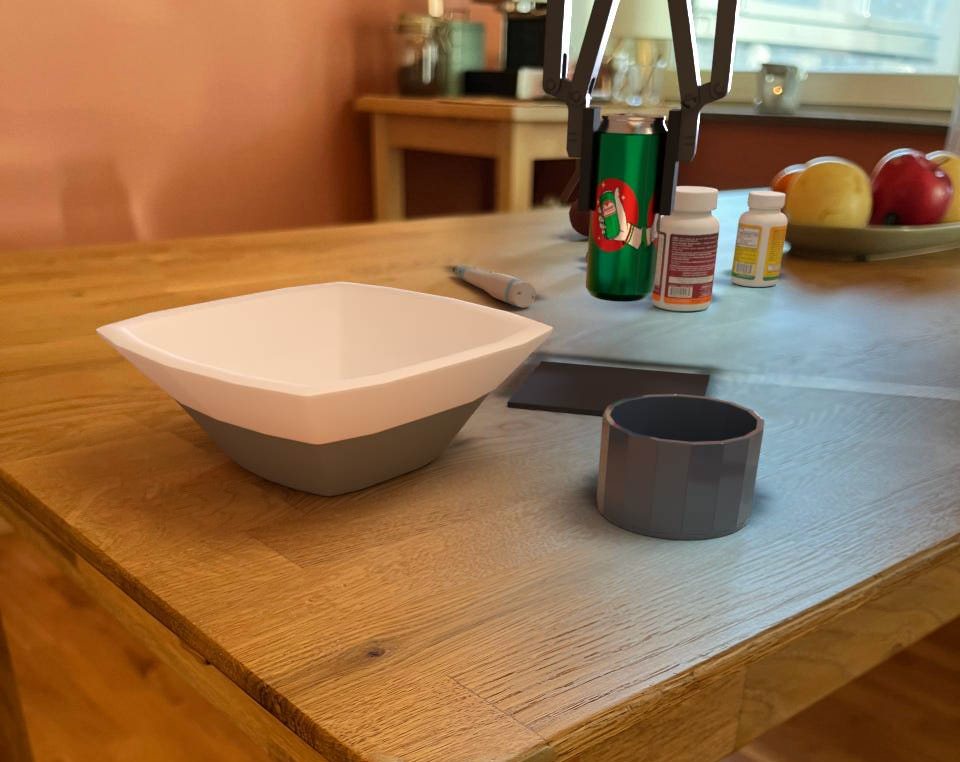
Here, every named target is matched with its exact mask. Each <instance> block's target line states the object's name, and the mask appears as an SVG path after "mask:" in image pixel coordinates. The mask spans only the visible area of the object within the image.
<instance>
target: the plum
mask: <svg viewBox="0 0 960 762" xmlns="http://www.w3.org/2000/svg"><path fill="white" fill-rule="evenodd" d="M568 218H569V222H570V225H571V228H572V229H573V230H574V231H575V232H576V233H577V234H579V235H581V236H584V237H587V238H589V226H590V210H589V211H578V198H577V199H575V201H574V202H573V203H571V205H570V208H569V211H568Z"/></svg>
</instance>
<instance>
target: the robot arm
mask: <svg viewBox="0 0 960 762" xmlns="http://www.w3.org/2000/svg"><path fill="white" fill-rule="evenodd" d="M666 1H667V7H668V9H667V10H668V17H669V23H670V29H671V30H670V31H671V38H672V44H673V52H674V60H675V66H676V73H677V74H676V76H677V81H678V82H677V83H678V90H679V96H680V97H679V98H680V102H679V104H680V108H671V109H669V110H668V117H667V118H668V119H667V126H666V128H667V138H666V149H665V159H664V170H663V180H662V191H661V201H660V212H659V215H661V216H664V215H666V216H670V215H671V214H672V213H673V211H674V206H675V196H676V186H678V176H679V164H680V163H691V162H692V161H693V159H694V158H695V156H696V154H697V148H698V147H697V146H698V137H699V129H700V128H699V127H700V118H701V113H702V110H703V108H704V107H705V106H706V105H709V104H711V103H713V102H716V101H719V100H722V99H724V98H725V97H727V96H728V95H729V94H730V92H731V86H732V77H733V68H734V67H733V66H734V60H735V59H734V58H735V50H736V49H735V48H736V40H737V39H736V38H737V30H738V20H739V11H740V1H741V0H717V9H716V20H715V28H714V29H715V31H714V41H713V51H712V59H711V69H710V70H711V73H710V81H708V82H705V83H703V84H701V83H702V82H701V75H700V68H699V66H700V65H699V58H698V51H697V43H696V35H695V26H694V20H693V13H692V12H693V11H692V4H691V0H666ZM619 3H620V0H593V4H592V7H591V12H590V14H589V18H588V21H587V25H586V29H585V32H584V35H583V40H582V42H581V45H580V50H579V54H578V57H577V61H576V65H575V68H574V71H573V75H572V77H571V79H570V78H568V68H569V52H570V51H569V50H570V38H571V37H570V36H571V24H572V23H571V21H572V19H571V18H572V7H573V6H572V5H573V0H546V12H545V27H544V28H545V32H544V48H543V67H542V81H541V82H542V84H541V85H542V90H543V92H544V93H545V94H546V95H548V96H552V97H554V98H557V99H559V100H561V101H563V102H564V103H565V104H566V108H567V112H568V113H567V126H566V127H567V129H566V147H565V149H566V153H567V157H568V158H570V159H571V158H574V159H579V160H580V161H579V178H578V195H577V199H578V211H589V210H591V194H592V179H593V163H594V148H595V132H596V131H597V129H598V128H599V126H600V124H601V111H602V106H597V105H596V106H593V105H590V104H591V102H592V100H593V92H594V89H595V85H596V82H597V77H598V75H599V71H600V68H601V66H602V65H601V64H602V61H603V58H604V54H605V51H606V48H607V44H608V40H609V37H610V34H611V30H612V28H613V27H612V26H613V23H614V21H615V16H616V14H617V10H618V6H619Z"/></svg>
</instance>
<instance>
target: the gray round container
mask: <svg viewBox="0 0 960 762" xmlns="http://www.w3.org/2000/svg"><path fill="white" fill-rule="evenodd" d="M764 428H765V420H764V418H762V416H760V415H759V413H757V412H756V411H754V410H753V409H751V408H748V407H745V406H743V405H741V404H738V403H735V402H732V401H729V400H724V399H718V398H715V397H709V396H705V395H704V396H694V395H682V394H655V395H643V396H637V397H631V398H625V399H622V400H620V401H617V402H615V403H613V404H611V405H609V406H607V408H606V410H605V412H604V414H603V416H602V421H601V434H600V446H599V460H598V474H597V485H596V486H597V489H596V502H597V510H598V512H599V513H600V514H601V515H602V517H604V518H605V520H607V521H609V522H610V523H611V524H614V525H615V526H617V527H619V528H620V529H621V528H622V529H624V530H626V531H630V532H632V533H636V534H639V535H643V536H649V537H653V538H657V539H658V538H659V539H665V540H667V539H668V540H680V541H692V540H693V541H695V540H696V541H697V540H709V539H714V538H715V539H716V538H720V537H724V536H727V535H730V534H733V533H735V532H737V531H739V530H740V529H742V528H744V527H745V526H746V525H747V523H749V520H750V518H751V512H752V505H753V500H754V493H755V486H756V480H757V474H758V468H759V462H760V461H759V460H760V454H761V450H762V449H761V448H762V441H763V437H764V436H763V435H764Z"/></svg>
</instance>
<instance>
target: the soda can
mask: <svg viewBox="0 0 960 762" xmlns="http://www.w3.org/2000/svg"><path fill="white" fill-rule="evenodd" d="M601 119H602V121H601V122H600V126H599V128H598V129H597V131H596V132H595V148H594V163H593V179H592V194H591V210H590V226H589V237H588V242H587V244H588V245H587V252H588V257H587V262H586V273H585V275H586V276H585V288H586V290H587V292H588V293H589V294H590V296H591V297H593V298H595V299H598V300H600V301H601V300H602V301H607V302H608V301H609V302H617V303H618V302H619V303H620V302H621V303H623V302H624V303H627V302H628V303H631V302H639V301H643V300H645V299H648V297H649V296H650V295H652V291H653V290H654V284H655V274H656V264H657V253H658V243H659V233H660V222H661V218H662V215H659V212H660V201H661V191H662V180H663V170H664V159H665V149H666V138H667V126H666V124H665V120H666V116H665V115H662V114H653V113H629V112H628V113H627V112H626V113H625V112H624V113H623V112H622V113H621V112H619V113H603V114H601Z"/></svg>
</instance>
